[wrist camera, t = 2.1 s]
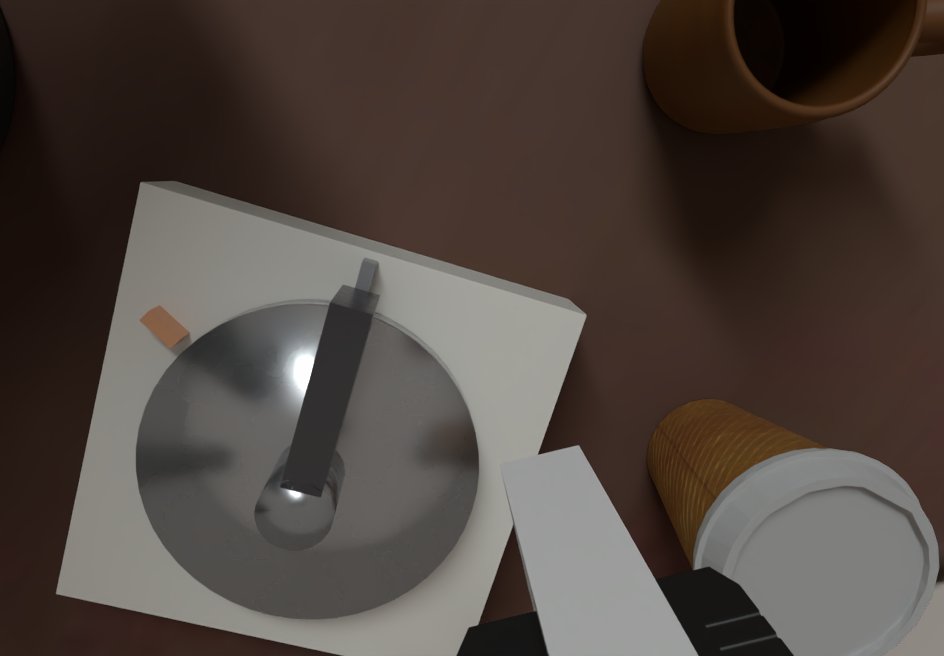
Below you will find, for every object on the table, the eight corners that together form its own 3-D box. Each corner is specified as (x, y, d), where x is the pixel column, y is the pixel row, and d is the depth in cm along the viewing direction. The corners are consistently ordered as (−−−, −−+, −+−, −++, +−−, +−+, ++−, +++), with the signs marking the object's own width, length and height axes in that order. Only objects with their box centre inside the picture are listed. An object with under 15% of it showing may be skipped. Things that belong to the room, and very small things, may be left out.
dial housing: (95, 548, 36) (42, 609, 31) (175, 180, 32) (128, 182, 27) (454, 629, 38) (459, 698, 33) (568, 299, 35) (593, 320, 30)
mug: (888, -29, 32) (1073, -109, 23) (867, 136, 34) (1031, 123, 25) (641, -34, 31) (731, -119, 22) (632, 136, 33) (712, 122, 24)
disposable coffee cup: (813, 475, 38) (987, 609, 26) (666, 560, 38) (772, 728, 27) (740, 336, 36) (894, 416, 24) (586, 429, 36) (663, 550, 25)
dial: (425, 630, 34) (425, 714, 28) (119, 561, 32) (58, 638, 26) (525, 331, 31) (546, 364, 25) (192, 234, 29) (140, 248, 23)
